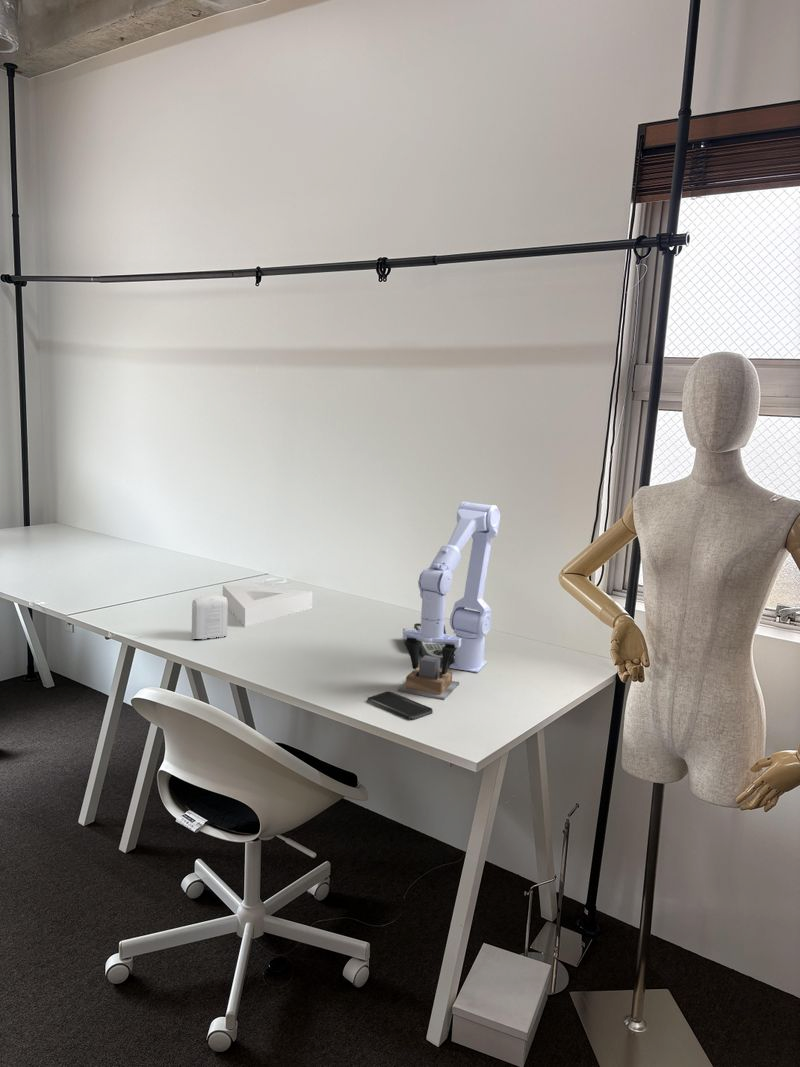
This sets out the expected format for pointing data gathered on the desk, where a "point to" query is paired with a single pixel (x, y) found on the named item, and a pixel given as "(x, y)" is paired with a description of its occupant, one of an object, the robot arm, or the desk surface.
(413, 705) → the phone
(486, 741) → the desk surface
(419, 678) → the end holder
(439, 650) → the communication device
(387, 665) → the desk surface
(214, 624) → the white upright block
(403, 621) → the desk surface
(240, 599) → the triangle block
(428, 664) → the connector plug
